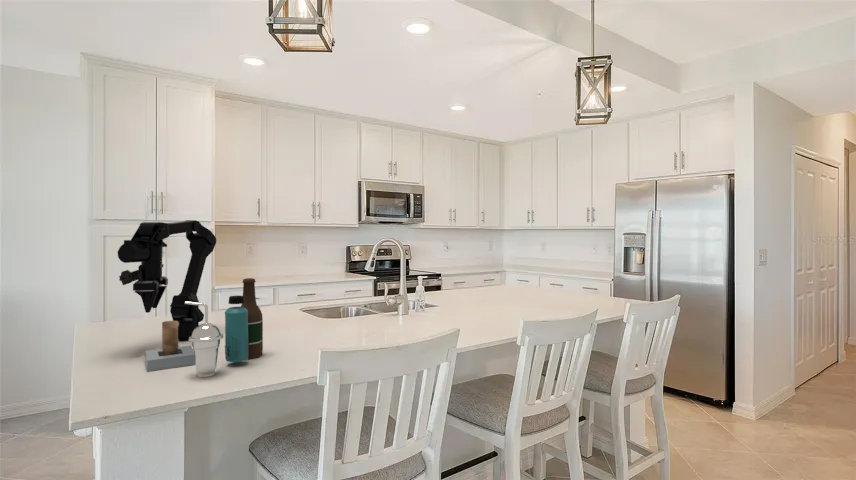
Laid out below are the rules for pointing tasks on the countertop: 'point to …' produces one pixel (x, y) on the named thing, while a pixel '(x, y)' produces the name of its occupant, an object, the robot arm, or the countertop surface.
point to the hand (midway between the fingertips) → (151, 310)
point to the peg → (169, 338)
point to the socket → (169, 359)
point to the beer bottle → (253, 319)
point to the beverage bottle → (236, 331)
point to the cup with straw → (205, 345)
